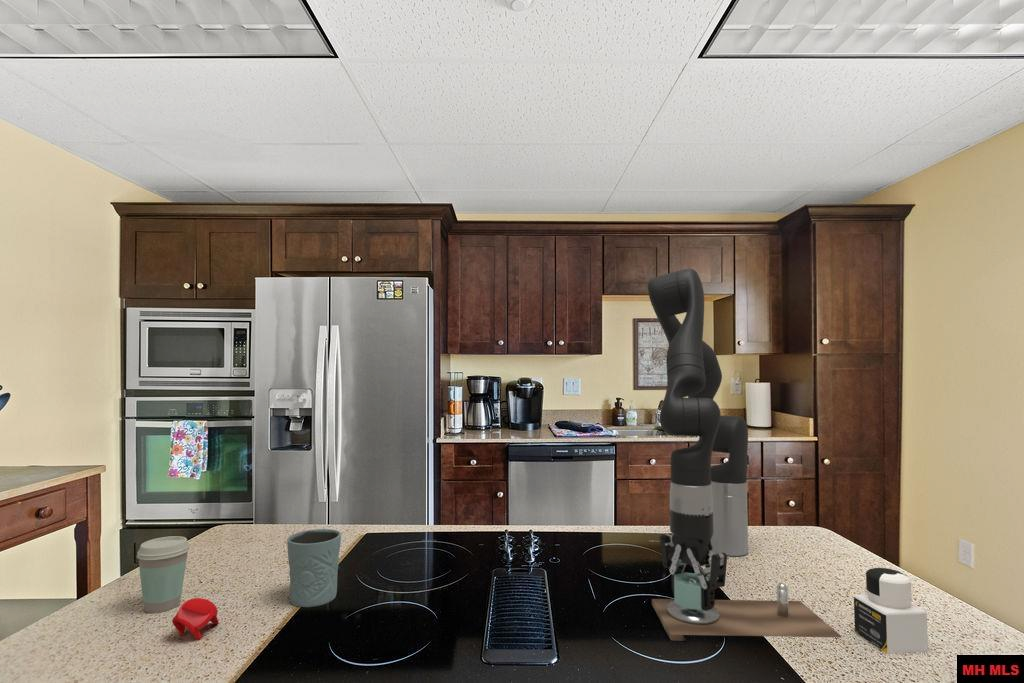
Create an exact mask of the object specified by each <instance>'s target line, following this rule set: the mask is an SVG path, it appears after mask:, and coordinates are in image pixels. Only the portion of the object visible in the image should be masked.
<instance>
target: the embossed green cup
mask: <svg viewBox="0 0 1024 683" xmlns="http://www.w3.org/2000/svg"><path fill="white" fill-rule="evenodd" d="M341 539H342V532H341V531H339V530H336V529H329V528H319V529H318V528H317V529H308V530H303V531H299V532H296V533H294V534H291V535H290V536H288V537H287V540H286V543H287V557H288V566H289V572H288V573H289V582H290V583H289V599H290V603H291V604H292V605H293V606H295V607H299V608H312V607H318V606H319V607H320V606H322V605H326V604H328V603H331V602H332V601H333V600H334V599H336V596H337V592H338V570H339V556H340V550H341V541H342V540H341Z"/></svg>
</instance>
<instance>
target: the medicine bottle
mask: <svg viewBox="0 0 1024 683" xmlns="http://www.w3.org/2000/svg"><path fill="white" fill-rule="evenodd" d="M865 580H866V581H865V582H866V583H865V584H866V586H865V588H866V594H865V593H863V594H854V595H853V611H854V612H853V613H854V615H853V616H854V617H853V618H854V633H856V635H858V636H860V637H862V638H863V639H864V640H865V641H867V642H869V643H870V644H872V645H873V646H875V647H876V648H877V649H879V650H881V651H882V652H884V653H886V654H902V653H903V654H906V653H925V652H927V653H928V652H929V642H928V641H929V640H928V613H927V611H926V610H924V609H922V607H919V606H918V605H915V604H913V603H912V602H913V601H912V580H911V579H910V577H909V576H908V575H906V574H904V573H903V572H901V571H899V570H896V569H891V568H886V567H874V568H873V567H872V568H869V569H868V570H866V571H865Z"/></svg>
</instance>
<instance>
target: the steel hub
mask: <svg viewBox="0 0 1024 683" xmlns="http://www.w3.org/2000/svg"><path fill="white" fill-rule="evenodd" d="M687 582H690V583H697V581H696V580H694V579H689V580H688V581H687ZM667 613H668V614H669V615H670V616H671V617H672V618H674V619H676V620H678V621H681V622H684V623H688V624H693V625H709V624H713V623H715V622H717V621H718V620H719V611H718V610H717V609H716V608H715V607H713V608H712V609H710V610H707V611H705V610H697V609H688V608H684V607H682V606H680V605H678V604H676V603H674V601H672V602H670V603H669V604H668V605H667Z"/></svg>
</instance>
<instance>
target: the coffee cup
mask: <svg viewBox="0 0 1024 683" xmlns="http://www.w3.org/2000/svg"><path fill="white" fill-rule="evenodd" d="M190 550H191V547H190V543H189V542H188V538H186V537H185V536H181V535H180V536H176V535H175V536H173V535H172V536H171V535H170V536H163V537H162V536H161V537H158V538H152V539H150V540H146V541H144V542H142V543H141V544H140V546H139V549H138V551H137V555H136V558H137V559H138V566H139V568H138V569H139V576H140V578H139V579H140V588H141V598H142V607H143V608H142V609H143V612H145V613H147V614H148V613H149V614H158V613H163V612H167V611H170V610H173V609H175V608H177V607H178V606H179V605H180V603H181V598H182V593H183V592H182V591H183V586H184V580H185V572H186V566H187V565H186V564H187V559H188V552H189V551H190Z"/></svg>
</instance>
